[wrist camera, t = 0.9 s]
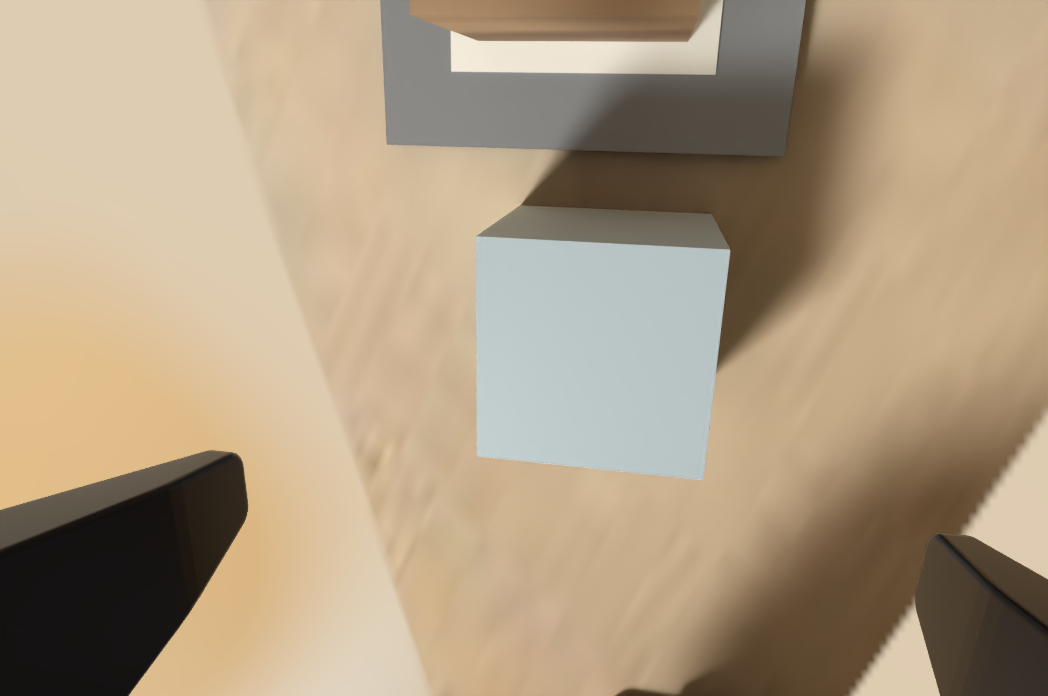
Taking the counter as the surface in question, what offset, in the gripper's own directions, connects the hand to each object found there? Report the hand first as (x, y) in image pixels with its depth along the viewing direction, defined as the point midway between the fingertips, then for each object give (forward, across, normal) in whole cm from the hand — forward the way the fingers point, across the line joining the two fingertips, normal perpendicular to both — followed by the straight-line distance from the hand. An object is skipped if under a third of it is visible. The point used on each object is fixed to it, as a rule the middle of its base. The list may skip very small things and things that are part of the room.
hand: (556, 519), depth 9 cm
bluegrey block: (+11, 0, 0) cm, 11 cm away
